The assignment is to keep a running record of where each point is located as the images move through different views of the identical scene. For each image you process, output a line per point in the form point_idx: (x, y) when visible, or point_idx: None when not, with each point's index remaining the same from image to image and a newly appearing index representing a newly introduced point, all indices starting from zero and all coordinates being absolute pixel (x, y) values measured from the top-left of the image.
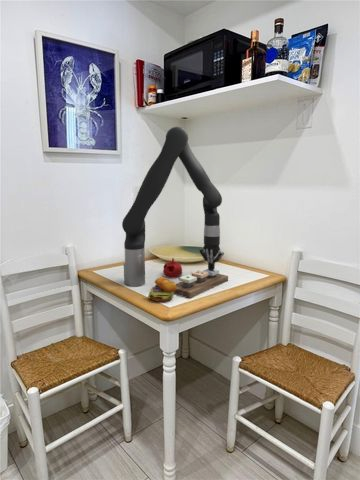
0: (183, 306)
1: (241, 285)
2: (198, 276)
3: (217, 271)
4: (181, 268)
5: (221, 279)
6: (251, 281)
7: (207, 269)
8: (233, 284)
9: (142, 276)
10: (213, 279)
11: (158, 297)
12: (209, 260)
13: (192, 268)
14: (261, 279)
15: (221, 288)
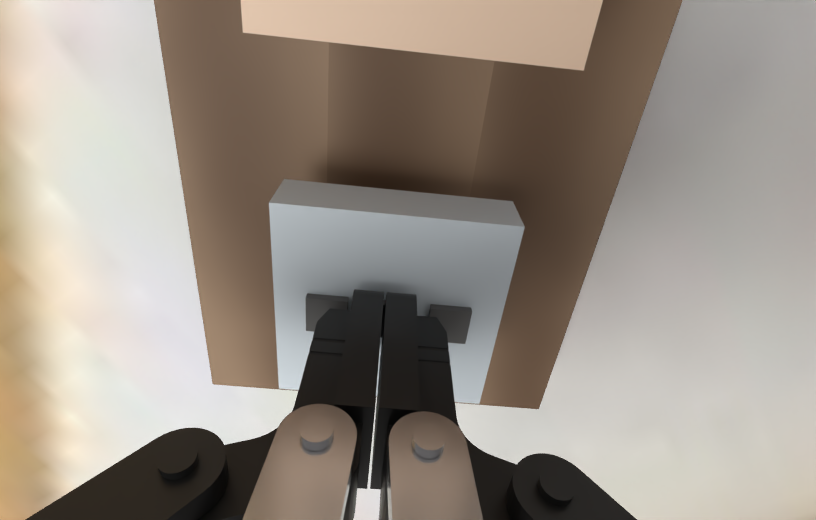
0: None
1: (9, 282)
2: None
3: (278, 340)
4: None
5: (194, 232)
6: (48, 427)
7: (466, 321)
8: (99, 265)
9: None
10: (266, 139)
11: None
12: (393, 476)
13: (776, 477)
14: (35, 498)
15: (81, 21)
